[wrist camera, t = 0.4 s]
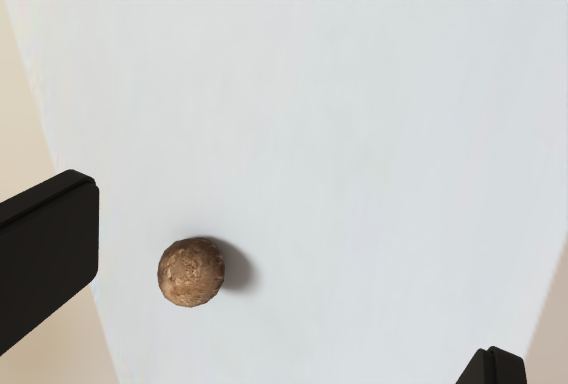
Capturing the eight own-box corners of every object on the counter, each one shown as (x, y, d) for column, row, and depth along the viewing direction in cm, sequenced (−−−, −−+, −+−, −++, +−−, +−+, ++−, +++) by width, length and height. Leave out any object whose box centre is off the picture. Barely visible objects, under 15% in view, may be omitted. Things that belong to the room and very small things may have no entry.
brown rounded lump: (210, 323, 52) (176, 325, 46) (170, 278, 55) (134, 275, 50) (251, 268, 51) (221, 263, 46) (208, 227, 55) (176, 218, 49)
